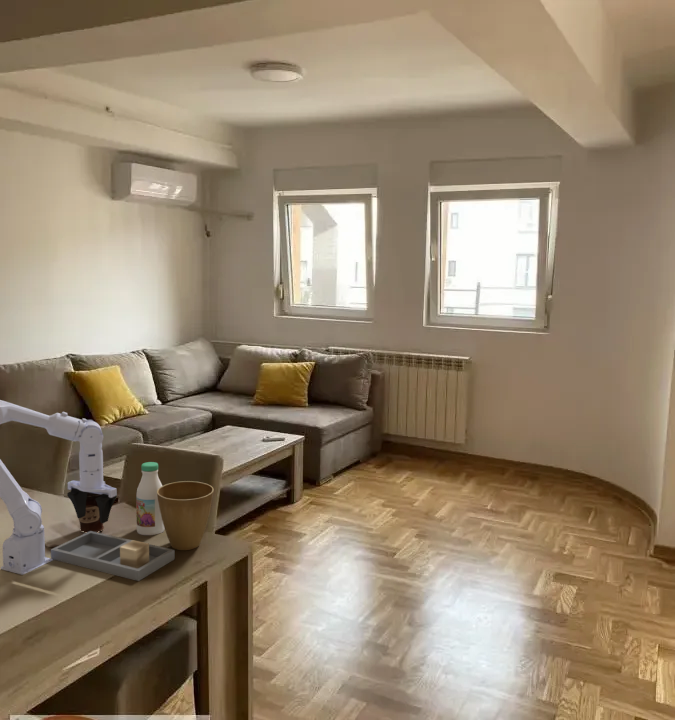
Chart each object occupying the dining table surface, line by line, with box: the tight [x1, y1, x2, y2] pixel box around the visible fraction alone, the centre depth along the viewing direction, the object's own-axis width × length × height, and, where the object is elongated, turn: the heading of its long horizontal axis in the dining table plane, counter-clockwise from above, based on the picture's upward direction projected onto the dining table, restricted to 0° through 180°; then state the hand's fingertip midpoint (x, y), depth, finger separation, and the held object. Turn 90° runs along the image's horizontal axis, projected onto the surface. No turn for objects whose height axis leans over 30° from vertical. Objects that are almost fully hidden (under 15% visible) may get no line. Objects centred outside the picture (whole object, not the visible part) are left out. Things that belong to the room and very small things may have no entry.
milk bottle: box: [135, 461, 165, 536], centre depth 198 cm, size 8×8×20 cm
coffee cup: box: [77, 492, 105, 532], centre depth 198 cm, size 9×8×13 cm
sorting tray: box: [50, 531, 176, 582], centre depth 180 cm, size 14×28×3 cm, turn 66°
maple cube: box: [120, 539, 150, 569], centre depth 177 cm, size 5×5×5 cm
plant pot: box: [157, 480, 215, 551], centre depth 189 cm, size 15×15×16 cm
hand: (92, 519), depth 181 cm, fingers open, 7 cm apart
